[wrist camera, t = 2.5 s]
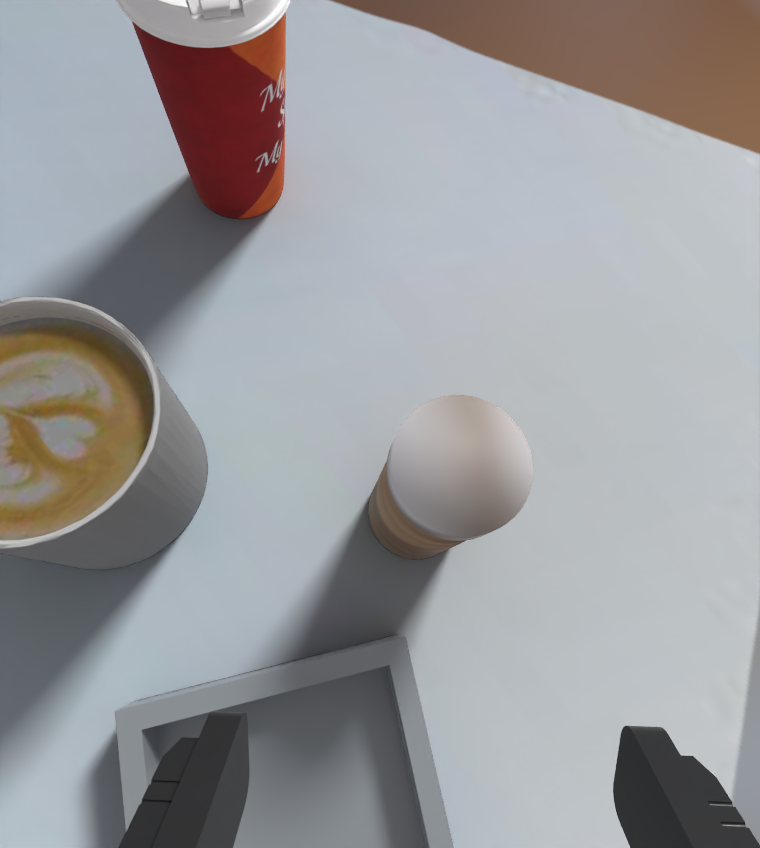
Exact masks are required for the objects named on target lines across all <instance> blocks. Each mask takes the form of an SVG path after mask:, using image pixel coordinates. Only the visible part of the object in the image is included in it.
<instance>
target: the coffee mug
mask: <svg viewBox="0 0 760 848" xmlns="http://www.w3.org/2000/svg"><path fill="white" fill-rule="evenodd" d="M207 475H208V463H207V454H206V449H205V445H204V442H203V439H202V437H201V435H200V432H199V430H198V429H197V427H196V425H195V424H194V422H193V421H192V419H191V418H190V416H189V415H188V413H187V411H186V410H185V408H184V407H183V405H182V404H181V402H180V401H179V399H178V398H177V396H176V395H175V393H174V392H173V390H172V388H171V387H170V385H169V384H168V382H167V381H166V379H165V378H164V376H163V375H162V373H161V372H160V370H159V369H158V367H157V365H156V364H155V362H154V361H153V359H152V358H151V356H150V355H149V353H148V352H147V350H146V349H145V347H144V346H143V345H142V344H141V342H140V341H139V340H138V339H137V338H136V337H135V335H134V334H133V333H131V332H130V331H129V330H128V329H127V328H126V327H125V326H124V325H123V324H122V323H120V322H119V321H117V320H116V319H114V318H113V317H111V316H110V315H108V314H106V313H104V312H102V311H101V310H99V309H97V308H94V307H92V306H89V305H86V304H83V303H80V302H77V301H72V300H67V299H63V298H55V297H19V298H12V299H6V300H3V301H0V554H6V555H11V556H17V557H22V558H27V559H33V560H38V561H44V562H49V563H55V564H60V565H66V566H71V567H76V568H83V569H92V570H107V569H116V568H120V567H125V566H128V565H132V564H135V563H138V562H140V561H143V560H145V559H147V558H149V557H151V556H153V555H155V554H156V553H158V552H159V551H161V550H162V549H164V548H165V547H166V546H167V545H169V544H170V543H171V542H172V541H174V540H175V539H176V538H177V537H178V536H179V535H180V534H181V533H182V532H183V530H184V529H185V528H186V527H187V526H188V524H189V523H190V521H191V520H192V518H193V517H194V515H195V513H196V511H197V509H198V507H199V505H200V503H201V500H202V498H203V495H204V492H205V488H206V483H207Z"/></svg>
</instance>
